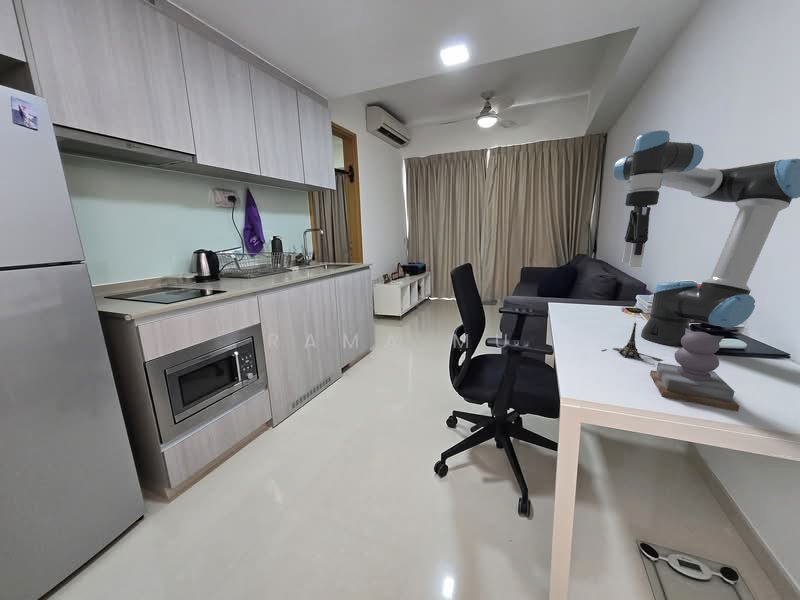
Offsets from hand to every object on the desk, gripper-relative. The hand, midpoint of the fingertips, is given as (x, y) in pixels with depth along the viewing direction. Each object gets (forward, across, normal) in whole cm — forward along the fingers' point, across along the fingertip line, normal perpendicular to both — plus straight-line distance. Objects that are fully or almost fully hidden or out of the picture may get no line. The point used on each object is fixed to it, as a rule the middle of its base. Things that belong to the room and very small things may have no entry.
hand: (630, 264), depth 93 cm
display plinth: (+32, +14, +15) cm, 38 cm away
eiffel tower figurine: (+32, -9, +6) cm, 34 cm away
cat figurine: (+27, +14, +15) cm, 34 cm away
